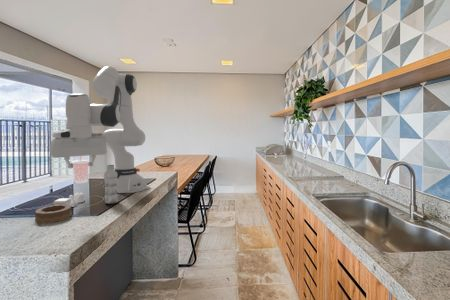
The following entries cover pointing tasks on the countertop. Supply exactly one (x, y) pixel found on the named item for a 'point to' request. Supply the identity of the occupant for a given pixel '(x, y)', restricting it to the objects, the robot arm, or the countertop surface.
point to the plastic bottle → (110, 185)
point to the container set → (71, 200)
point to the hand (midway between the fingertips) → (80, 166)
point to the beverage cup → (80, 170)
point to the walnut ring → (53, 213)
